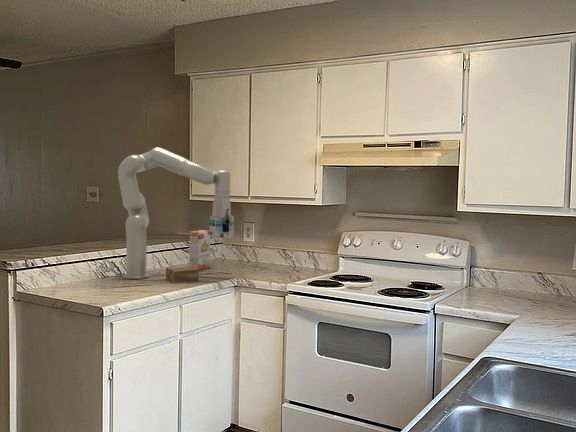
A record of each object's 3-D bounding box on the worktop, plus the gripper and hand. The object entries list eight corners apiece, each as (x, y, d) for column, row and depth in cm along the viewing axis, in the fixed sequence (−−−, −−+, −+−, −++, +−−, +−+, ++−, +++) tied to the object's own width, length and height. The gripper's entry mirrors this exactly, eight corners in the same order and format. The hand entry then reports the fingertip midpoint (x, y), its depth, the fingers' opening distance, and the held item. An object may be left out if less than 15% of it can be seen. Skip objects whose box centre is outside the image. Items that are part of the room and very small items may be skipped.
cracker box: (198, 271, 317) (199, 232, 316) (188, 270, 319) (188, 231, 318) (210, 267, 331) (210, 230, 329) (200, 267, 333) (201, 229, 331)
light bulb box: (215, 238, 291) (215, 216, 291) (208, 237, 297) (209, 215, 296) (234, 237, 298) (234, 216, 297) (227, 236, 303) (227, 215, 302)
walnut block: (165, 280, 290) (165, 267, 290) (189, 278, 297) (189, 266, 296) (174, 283, 280) (174, 271, 280) (198, 282, 287) (198, 269, 286)
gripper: (206, 194, 300) (205, 230, 301) (225, 196, 287) (225, 233, 288) (218, 194, 305) (218, 229, 306) (238, 196, 292) (237, 232, 293)
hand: (221, 230), depth 297 cm, fingers closed on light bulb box, 6 cm apart
